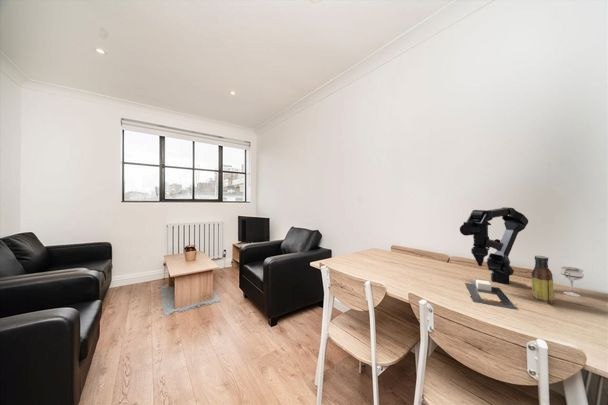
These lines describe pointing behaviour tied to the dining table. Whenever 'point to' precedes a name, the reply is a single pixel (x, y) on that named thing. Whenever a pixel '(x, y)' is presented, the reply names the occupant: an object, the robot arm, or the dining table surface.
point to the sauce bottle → (542, 280)
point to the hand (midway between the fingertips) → (481, 263)
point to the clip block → (483, 285)
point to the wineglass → (572, 277)
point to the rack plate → (494, 290)
